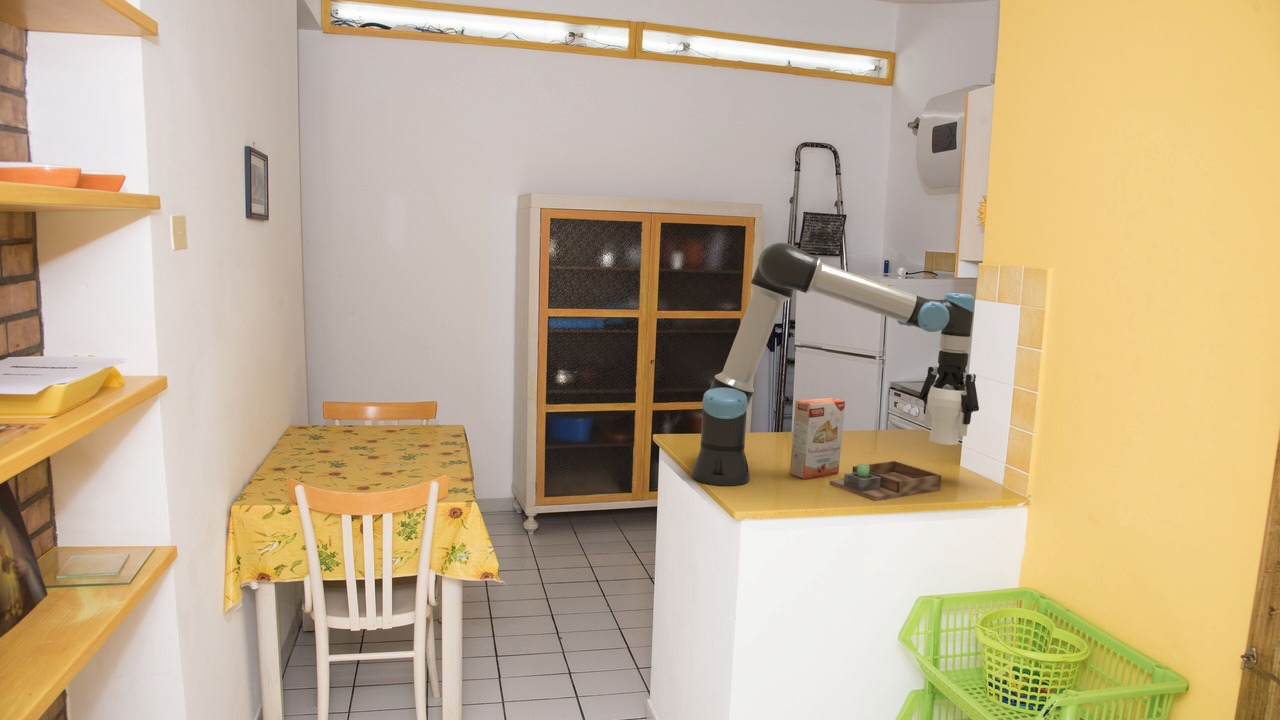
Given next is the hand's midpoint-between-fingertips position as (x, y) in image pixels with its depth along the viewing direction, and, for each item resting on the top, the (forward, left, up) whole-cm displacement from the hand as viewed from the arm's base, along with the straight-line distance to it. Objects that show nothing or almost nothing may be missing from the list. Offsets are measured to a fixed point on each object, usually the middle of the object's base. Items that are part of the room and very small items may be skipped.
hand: (944, 431), depth 231 cm
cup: (0, 0, -3) cm, 3 cm away
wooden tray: (-20, +2, -14) cm, 24 cm away
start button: (-28, +2, -11) cm, 30 cm away
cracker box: (-29, +19, -14) cm, 37 cm away
